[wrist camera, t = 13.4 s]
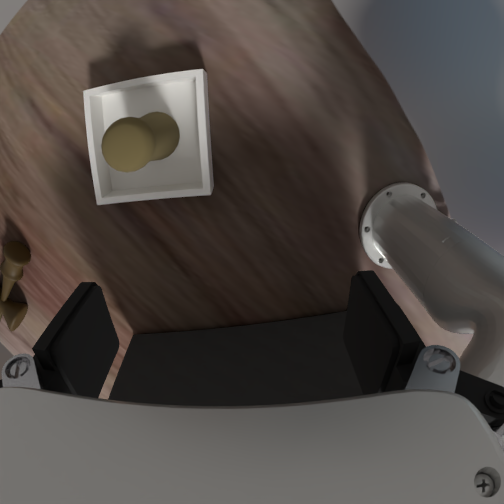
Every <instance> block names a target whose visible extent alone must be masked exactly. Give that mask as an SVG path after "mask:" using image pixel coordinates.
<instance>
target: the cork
mask: <svg viewBox="0 0 504 504" xmlns="http://www.w3.org/2000/svg"><path fill="white" fill-rule="evenodd" d="M179 139H180V133H179V128H178V125H177V123H176V121H175V120H174V119H173V118H172V117H171V116H169V115H167V114H166V113H163V112H151V113H148V114H146V115H144V116H142V117H140V118H136V117H125V118H120V119H119V120H117V121H115V122H113V123H112V124H111V125H110V126H109V127H108V129H107V130H106V131H105V133H104V136H103V138H102V144H101V148H102V154H103V157H104V159H105V161H106V162H107V163H108V165H109V166H110V167H112V168H113V169H115V170H117V171H121V172H126V173H128V172H135V171H137V170H139V169H141V168H143V167H144V166H145V165H146V164H147V163H148V162H149V161H156V160H162V159H164V158H166V157H169V156H170V155H171V154H172V153H173V152H174V151H175V149H176V147H177V146H178V143H179Z"/></svg>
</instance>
